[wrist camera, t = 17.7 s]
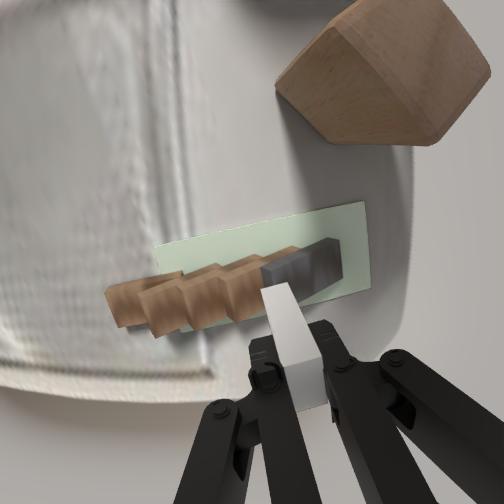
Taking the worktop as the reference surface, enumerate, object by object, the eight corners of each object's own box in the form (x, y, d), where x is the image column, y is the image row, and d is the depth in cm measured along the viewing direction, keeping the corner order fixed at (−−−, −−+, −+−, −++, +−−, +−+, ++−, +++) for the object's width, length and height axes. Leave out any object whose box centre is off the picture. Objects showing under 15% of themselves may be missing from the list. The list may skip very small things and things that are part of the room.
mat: (153, 246, 36) (152, 247, 36) (363, 200, 37) (364, 201, 37) (181, 331, 40) (181, 333, 40) (369, 286, 41) (370, 288, 41)
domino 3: (291, 245, 38) (216, 276, 33) (301, 248, 36) (225, 281, 32) (297, 283, 39) (227, 316, 35) (307, 287, 38) (236, 323, 33)
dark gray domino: (327, 237, 38) (259, 266, 33) (339, 239, 36) (270, 271, 32) (332, 274, 40) (268, 307, 35) (343, 278, 38) (278, 313, 33)
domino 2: (254, 253, 38) (175, 285, 33) (263, 257, 36) (181, 290, 32) (261, 291, 39) (188, 324, 35) (271, 295, 38) (195, 331, 33)
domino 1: (215, 262, 37) (136, 293, 33) (223, 266, 36) (140, 299, 31) (225, 299, 39) (151, 331, 35) (232, 304, 37) (155, 338, 33)
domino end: (182, 270, 37) (108, 286, 37) (180, 276, 35) (103, 293, 35) (193, 306, 39) (122, 320, 39) (192, 314, 37) (118, 328, 37)
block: (269, 86, 32) (326, 22, 13) (326, 37, 31) (414, -38, 12) (330, 147, 35) (436, 153, 16) (381, 96, 33) (499, 73, 14)
